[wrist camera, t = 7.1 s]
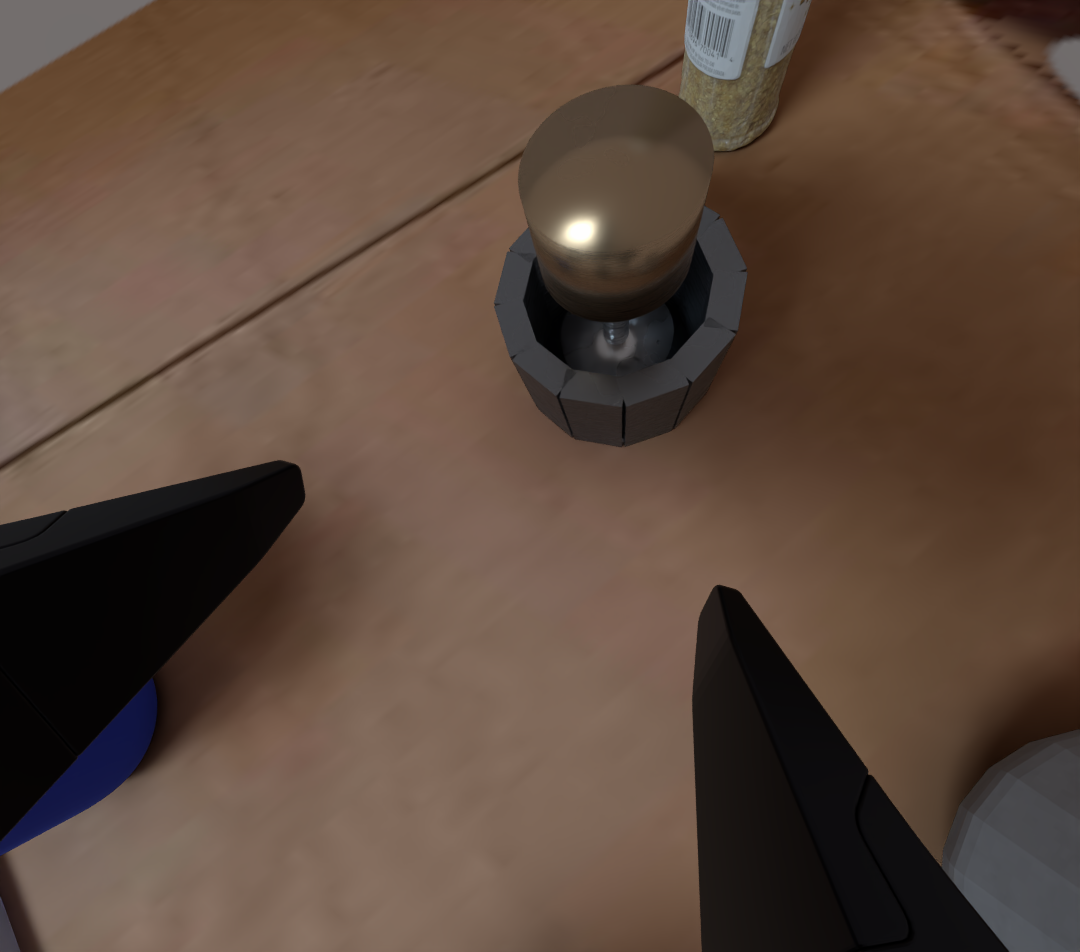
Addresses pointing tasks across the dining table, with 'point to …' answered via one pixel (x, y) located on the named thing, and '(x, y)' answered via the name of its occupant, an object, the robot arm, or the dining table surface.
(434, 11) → the dining table surface
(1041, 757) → the coffee pot
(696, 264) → the press body
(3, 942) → the notebook
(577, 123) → the plunger
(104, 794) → the mug
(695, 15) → the sprinkles bottle
